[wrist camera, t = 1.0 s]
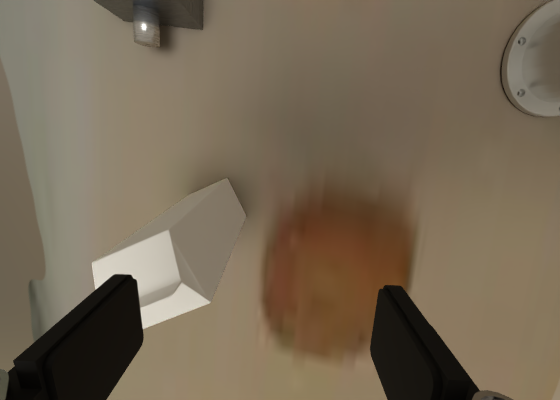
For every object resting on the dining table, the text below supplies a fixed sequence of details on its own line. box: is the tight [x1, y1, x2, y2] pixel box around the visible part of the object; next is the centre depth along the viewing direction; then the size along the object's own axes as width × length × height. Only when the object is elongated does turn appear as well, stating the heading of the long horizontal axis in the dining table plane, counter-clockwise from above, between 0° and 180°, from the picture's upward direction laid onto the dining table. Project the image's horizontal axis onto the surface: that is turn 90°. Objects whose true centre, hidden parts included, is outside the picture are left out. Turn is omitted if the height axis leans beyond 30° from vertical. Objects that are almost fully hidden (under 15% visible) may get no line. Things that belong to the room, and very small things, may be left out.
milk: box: [92, 178, 246, 329], centre depth 26 cm, size 6×6×22 cm
